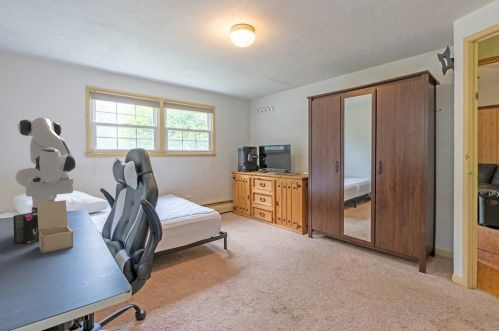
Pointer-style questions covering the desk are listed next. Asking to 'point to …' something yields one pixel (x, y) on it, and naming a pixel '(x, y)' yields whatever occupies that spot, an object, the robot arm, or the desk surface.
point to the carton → (55, 239)
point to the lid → (52, 214)
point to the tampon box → (26, 228)
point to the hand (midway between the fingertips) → (50, 203)
